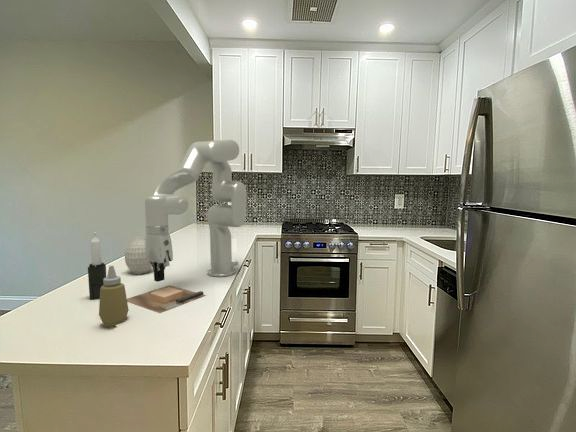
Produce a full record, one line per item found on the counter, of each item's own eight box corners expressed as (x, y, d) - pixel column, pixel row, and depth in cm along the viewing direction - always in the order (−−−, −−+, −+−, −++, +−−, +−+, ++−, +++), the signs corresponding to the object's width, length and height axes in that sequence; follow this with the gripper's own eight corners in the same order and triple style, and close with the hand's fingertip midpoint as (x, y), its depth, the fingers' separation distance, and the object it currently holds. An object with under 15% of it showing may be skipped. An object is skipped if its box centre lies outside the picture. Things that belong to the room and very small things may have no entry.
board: (169, 288, 139) (169, 285, 139) (206, 298, 128) (206, 295, 128) (122, 303, 123) (122, 300, 123) (160, 316, 111) (159, 313, 111)
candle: (89, 303, 123) (84, 233, 120) (93, 298, 128) (88, 231, 125) (105, 302, 124) (100, 232, 121) (108, 297, 129) (104, 230, 126)
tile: (168, 287, 130) (182, 290, 126) (168, 292, 130) (182, 296, 126) (149, 292, 123) (163, 297, 119) (149, 299, 124) (164, 303, 119)
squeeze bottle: (121, 316, 112) (118, 261, 110) (134, 323, 107) (131, 265, 104) (95, 324, 106) (91, 266, 103) (106, 332, 100) (103, 271, 98)
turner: (197, 292, 130) (197, 290, 130) (206, 295, 128) (206, 292, 128) (158, 307, 116) (158, 304, 116) (167, 310, 114) (167, 307, 114)
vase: (155, 274, 158) (154, 238, 156) (124, 277, 153) (122, 240, 151) (155, 267, 170) (153, 234, 168) (126, 270, 165) (124, 235, 163)
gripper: (179, 231, 123) (181, 281, 125) (153, 227, 131) (155, 274, 133) (161, 233, 117) (163, 286, 119) (135, 230, 125) (137, 279, 127)
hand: (159, 280), depth 126 cm, fingers closed
